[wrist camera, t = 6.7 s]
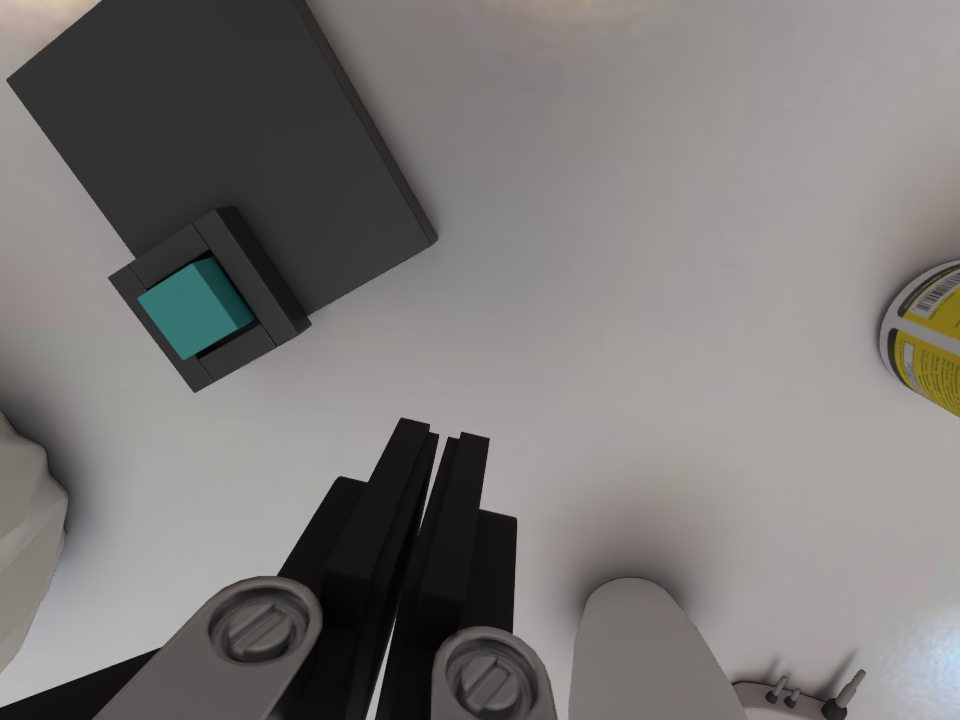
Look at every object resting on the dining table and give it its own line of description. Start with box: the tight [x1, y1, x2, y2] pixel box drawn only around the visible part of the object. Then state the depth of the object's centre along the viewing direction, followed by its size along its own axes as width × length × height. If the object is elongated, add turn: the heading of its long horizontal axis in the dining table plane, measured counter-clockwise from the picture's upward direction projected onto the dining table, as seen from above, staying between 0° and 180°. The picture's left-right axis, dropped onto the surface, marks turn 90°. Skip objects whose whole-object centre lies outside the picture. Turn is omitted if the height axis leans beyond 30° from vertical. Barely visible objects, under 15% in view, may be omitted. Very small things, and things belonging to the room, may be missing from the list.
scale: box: [6, 0, 438, 393], centre depth 23 cm, size 14×12×4 cm
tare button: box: [137, 257, 255, 360], centre depth 23 cm, size 3×3×2 cm
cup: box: [568, 578, 748, 720], centre depth 26 cm, size 8×8×10 cm
